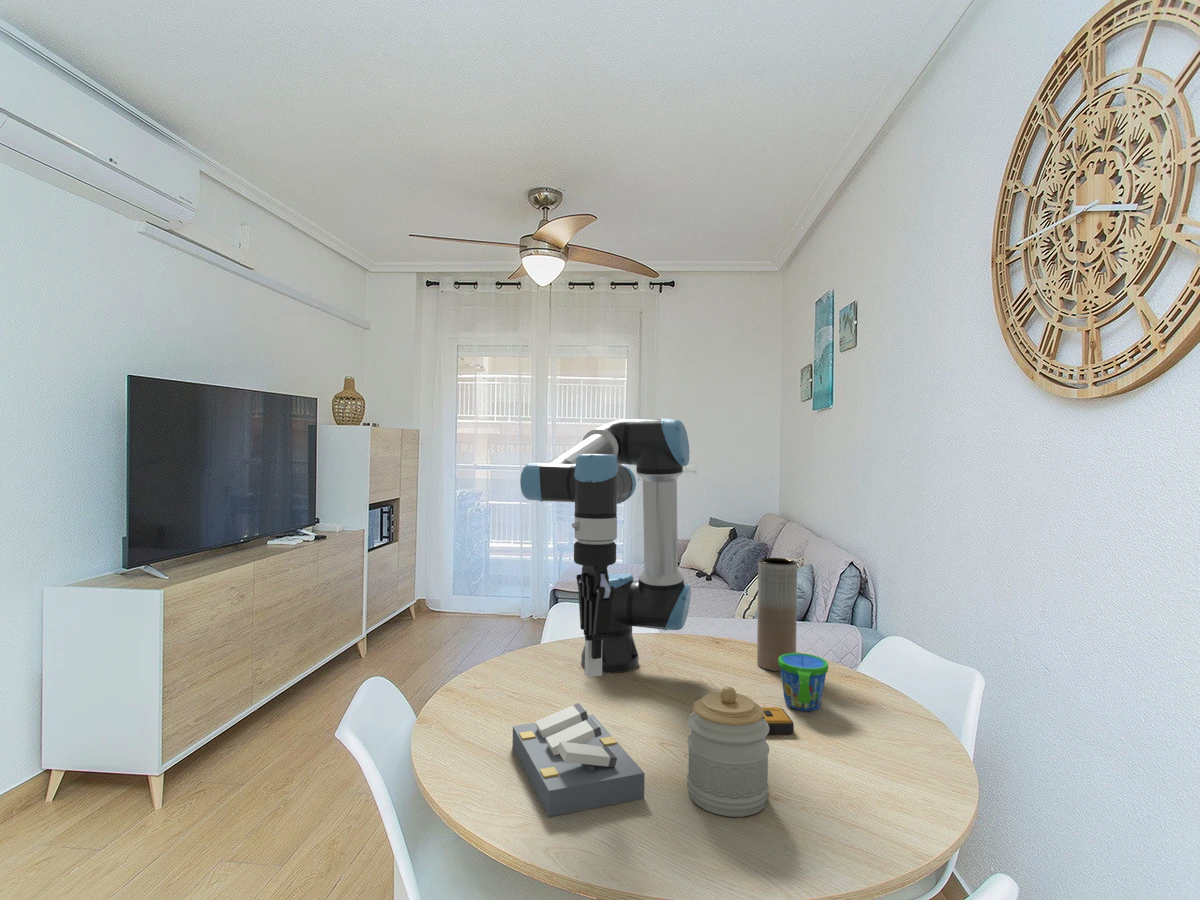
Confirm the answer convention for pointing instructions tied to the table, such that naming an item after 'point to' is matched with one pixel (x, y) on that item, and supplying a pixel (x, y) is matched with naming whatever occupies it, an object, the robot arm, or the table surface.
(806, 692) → the snack cup
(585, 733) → the rocker mid
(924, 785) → the table surface
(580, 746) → the rocker near
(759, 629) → the vase
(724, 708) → the jar
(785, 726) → the electronic device
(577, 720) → the rocker far
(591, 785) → the switch unit
